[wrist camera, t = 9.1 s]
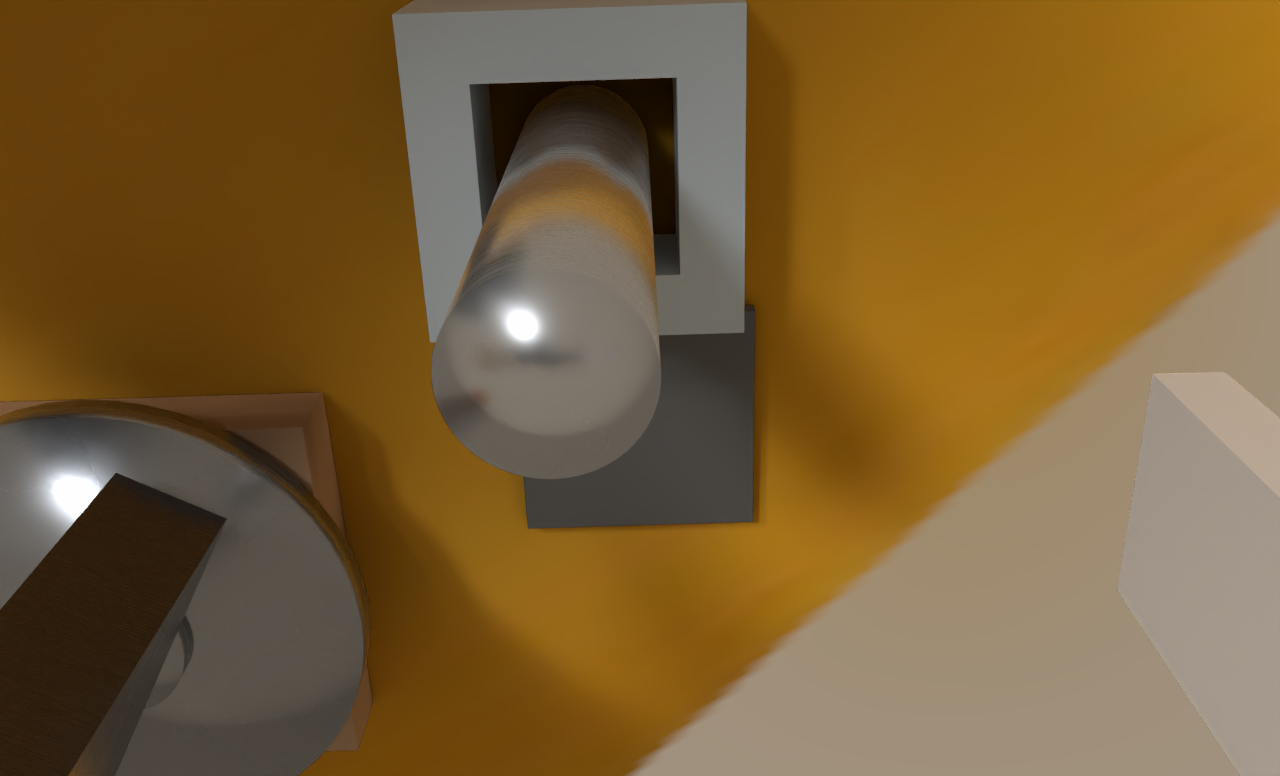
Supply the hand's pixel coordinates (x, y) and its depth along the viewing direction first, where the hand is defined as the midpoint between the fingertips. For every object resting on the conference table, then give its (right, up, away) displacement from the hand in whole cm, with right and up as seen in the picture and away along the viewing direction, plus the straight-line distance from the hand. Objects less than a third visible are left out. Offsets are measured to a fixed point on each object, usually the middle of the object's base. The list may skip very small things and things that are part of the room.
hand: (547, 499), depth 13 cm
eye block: (0, +7, +14) cm, 16 cm away
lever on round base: (-12, -4, +17) cm, 21 cm away
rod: (0, +7, +14) cm, 16 cm away
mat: (+1, 0, +17) cm, 17 cm away
